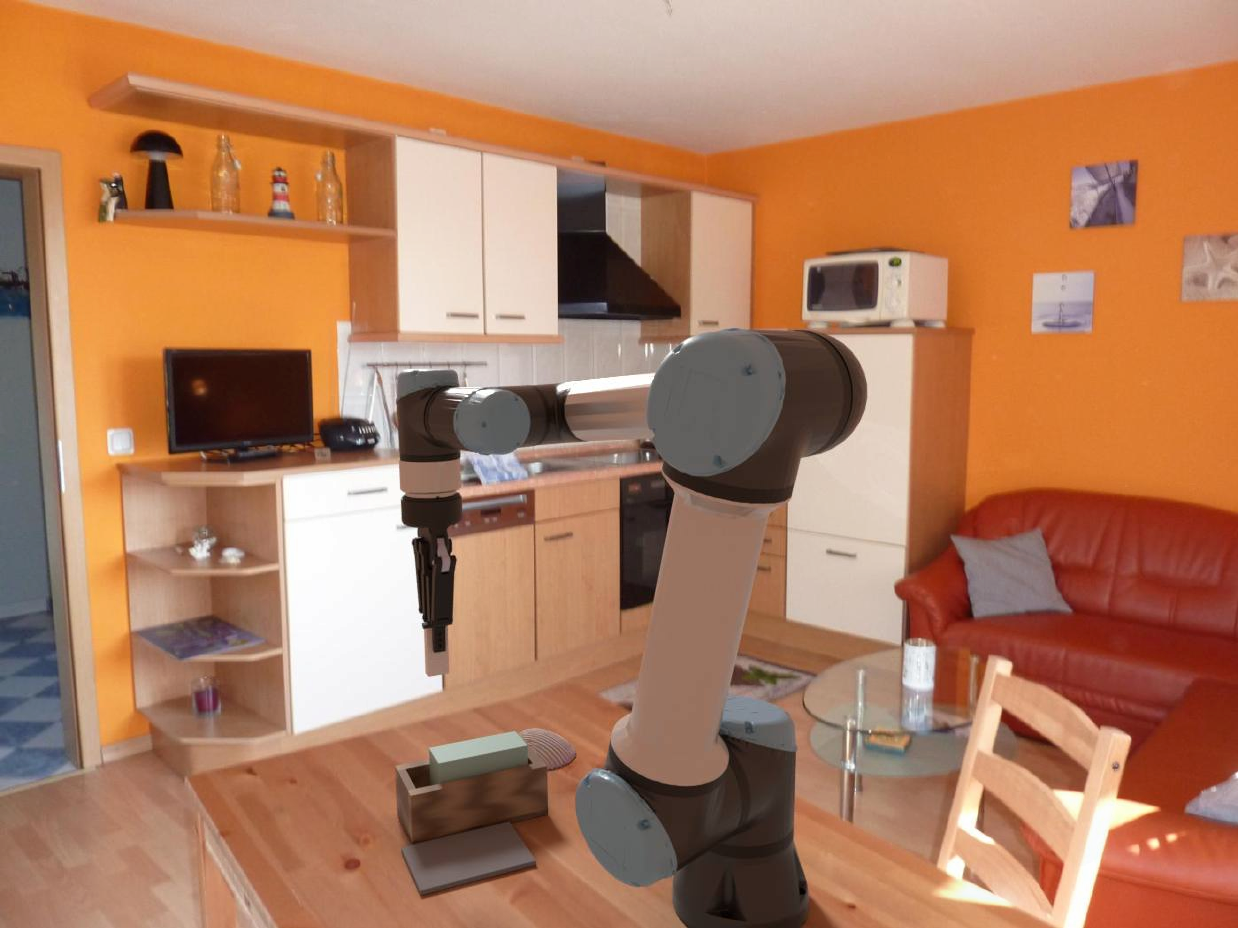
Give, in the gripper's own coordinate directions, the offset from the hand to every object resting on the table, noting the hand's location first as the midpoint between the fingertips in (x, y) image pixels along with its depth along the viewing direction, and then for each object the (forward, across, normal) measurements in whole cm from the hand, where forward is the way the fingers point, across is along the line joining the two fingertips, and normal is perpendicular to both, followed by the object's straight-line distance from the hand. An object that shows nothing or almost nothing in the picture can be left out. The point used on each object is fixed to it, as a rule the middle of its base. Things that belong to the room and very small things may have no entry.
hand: (437, 672), depth 118 cm
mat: (+20, -10, 0) cm, 23 cm away
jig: (+20, 0, -4) cm, 21 cm away
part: (+16, 0, -5) cm, 17 cm away
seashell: (+21, +12, -19) cm, 31 cm away
